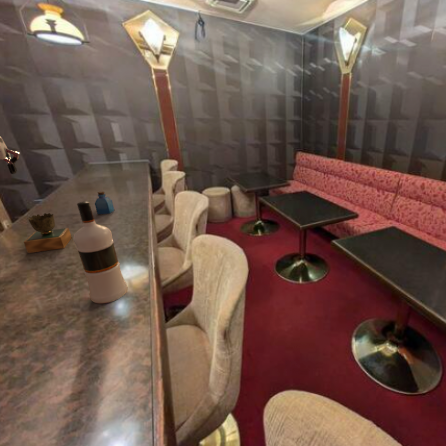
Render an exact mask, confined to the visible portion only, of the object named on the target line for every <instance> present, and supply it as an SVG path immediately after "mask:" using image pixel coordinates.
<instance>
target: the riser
mask: <svg viewBox="0 0 446 446" xmlns="http://www.w3.org/2000/svg"><path fill="white" fill-rule="evenodd" d="M52 231H53V232H52V233H51V234H49V235H41V234H40V232H38V231H34V232H33V233H32V234H31V235H29V237H27V238H26V239H25V240H24V241H23V244H24V247H25V249H26V252H27V254H33V253H39V252H46V251H53V250H60V249H61V250H62V249H65V248H66V246H67V245H68V244H69V243H70V241H71V240H72V239H73V237H72V235H71V231H70V228H69V227H65V228H57V229H56V228H54V229H52Z"/></svg>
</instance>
